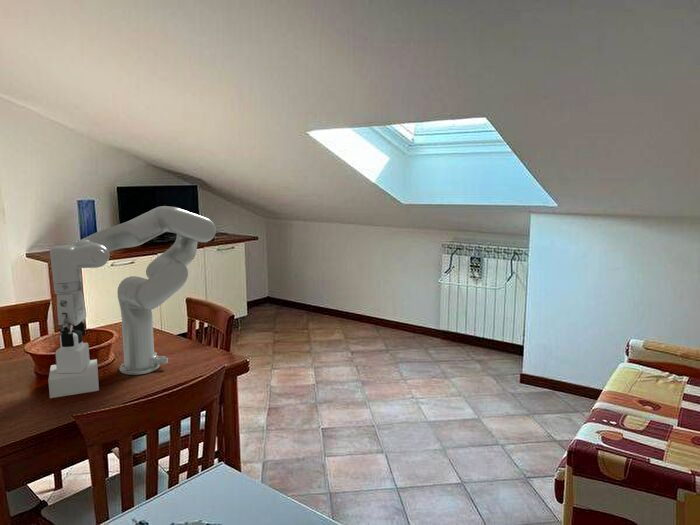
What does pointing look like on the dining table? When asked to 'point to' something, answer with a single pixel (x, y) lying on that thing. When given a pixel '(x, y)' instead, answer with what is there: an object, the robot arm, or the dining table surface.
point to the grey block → (73, 381)
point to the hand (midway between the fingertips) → (74, 340)
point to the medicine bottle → (73, 355)
